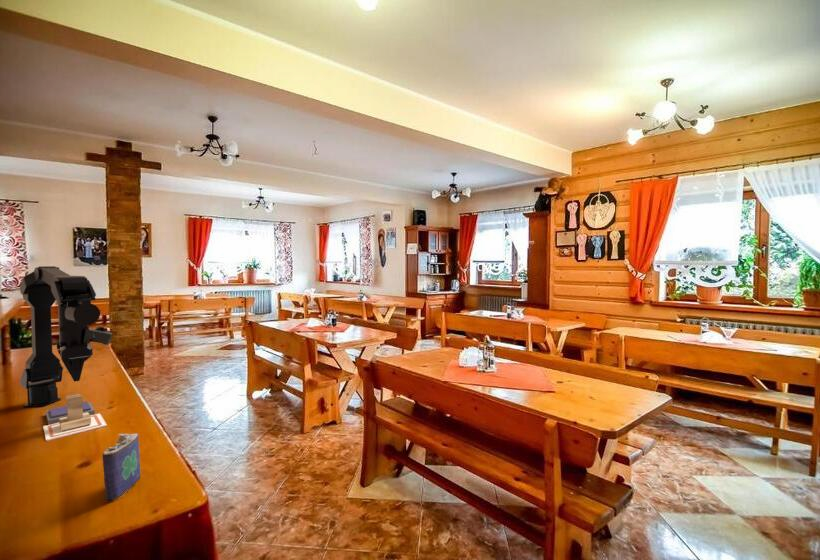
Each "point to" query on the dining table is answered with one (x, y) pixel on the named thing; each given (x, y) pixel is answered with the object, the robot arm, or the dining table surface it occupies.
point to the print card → (55, 429)
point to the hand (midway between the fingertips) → (75, 377)
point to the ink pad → (61, 412)
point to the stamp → (74, 414)
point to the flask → (121, 466)
